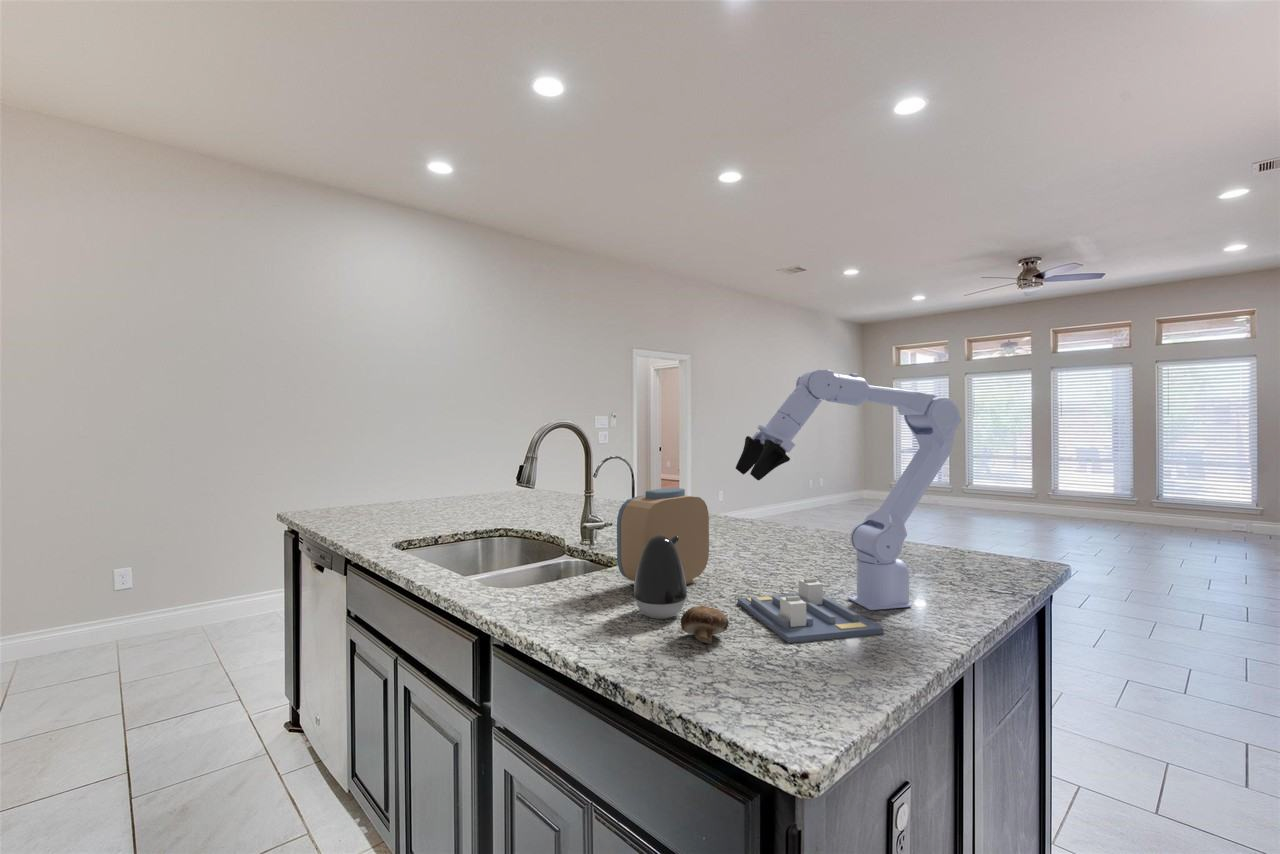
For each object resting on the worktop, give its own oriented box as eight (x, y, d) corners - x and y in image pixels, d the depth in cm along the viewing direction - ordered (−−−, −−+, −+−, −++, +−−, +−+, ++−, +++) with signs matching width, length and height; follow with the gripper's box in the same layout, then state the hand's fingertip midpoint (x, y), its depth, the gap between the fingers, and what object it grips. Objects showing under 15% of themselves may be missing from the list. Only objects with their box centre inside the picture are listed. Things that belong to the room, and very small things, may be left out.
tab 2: (812, 598, 117) (812, 575, 117) (822, 604, 113) (822, 580, 113) (798, 599, 116) (798, 576, 116) (808, 605, 112) (808, 581, 112)
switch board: (817, 596, 122) (817, 586, 122) (883, 633, 100) (883, 621, 100) (737, 603, 118) (737, 592, 118) (788, 643, 96) (788, 629, 96)
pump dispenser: (698, 613, 111) (698, 535, 111) (663, 627, 104) (662, 543, 104) (658, 602, 118) (658, 528, 118) (622, 615, 111) (622, 536, 111)
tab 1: (795, 618, 105) (795, 592, 105) (806, 625, 101) (806, 599, 101) (780, 619, 105) (780, 594, 104) (790, 627, 101) (790, 600, 101)
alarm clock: (679, 572, 142) (679, 484, 142) (709, 579, 135) (708, 487, 135) (615, 588, 128) (615, 491, 128) (645, 598, 121) (644, 495, 121)
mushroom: (712, 634, 91) (709, 596, 95) (672, 644, 95) (670, 607, 99) (738, 646, 96) (734, 609, 100) (699, 654, 100) (696, 619, 104)
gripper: (759, 406, 121) (719, 457, 120) (791, 409, 106) (746, 467, 105) (782, 427, 122) (743, 477, 121) (817, 433, 108) (773, 490, 107)
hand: (746, 474), depth 113 cm, fingers open, 7 cm apart
